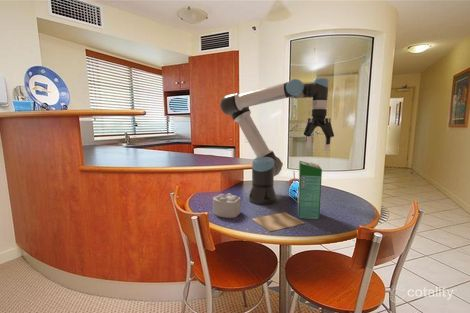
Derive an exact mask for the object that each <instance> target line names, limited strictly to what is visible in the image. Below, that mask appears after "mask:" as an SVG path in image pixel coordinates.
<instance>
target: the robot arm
mask: <svg viewBox="0 0 470 313" xmlns="http://www.w3.org/2000/svg"><path fill="white" fill-rule="evenodd" d="M328 93H329V80H328V78H325V77H318V78H314V79H313V81H312V82H307V83H304V82H303V81H301V80H300V79H297V78H293V79H290V80H289V81H288V82H283V83H279V84H275V85H272V86H267V87H263V88H259V89H255V90H251V91H248V92H244V93H239V92H235V93H231V94H230V93H229V94H227V95H224V96H223V97H222V98H221V100H220V104H219V108H220V110H221V111H222V113H223V114H225V115H227V116H230V117H231V118H232V120H233V122H235V123H237V124H238V126H239V127H240V129H241V131H242V133H243V134H244V136H245V139H246V141H247V142H248V144H249V145H250V147H251V149H252V152H253V153H254V154H255V158H254V159H253V160H252V165H251V174H252V175H251V182H252V183H251V189H250V192H249V195H248V200H249V202H250V203H252V204H255V205H271V204H275V203H276V202H277V194H276V192H275V188H274V177H275V176H276V177H277V175H279V174H280V172H281V171H282V167H283V162H282V161H281V159H280V157H278V156H277V155H276V154H275V153H274V150H270V149H269V147H268V145H267V144H266V141H265V140H264V138H263V137H262V134H261V133H260V130H258V126H257V125H256V123H255V122H254V120H253V117H251V114H252V113H251V112H252V111H251V110H250V107H252V106H253V107H254V106H257V105H262V104H266V103H270V102H275V101H278V100H284V99H288V98H291V99H307V98H308V99H309V98H311V99H312V102H311V103H312V104H311V108H312V109H311V118H309V117H308V119H307V123H306V126H305V129H304V130H303V131H304V132H303V135H304V136H305V138H306V139H305V142H306V146H305V147H306V149H312V134H313V132H314V131H315V129H316V128H318V127H320V128H321V131H322V132H323V135H324V136H325V137H324V142H323V144H324V145H323V151H324V152H327V151H329V150H330V144H331V138H333V137H335V134H334V131H333V130H334V129H333V127H332V124H331V118H330V117H329V118H328V117H326V116H327V113H328V112H327V110H328V96H329V94H328Z"/></svg>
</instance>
